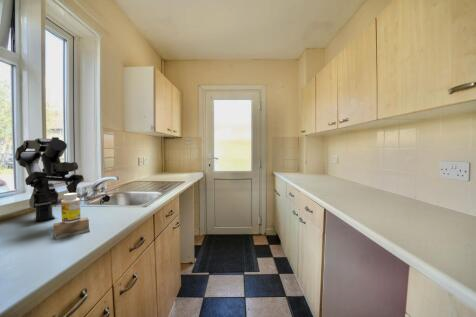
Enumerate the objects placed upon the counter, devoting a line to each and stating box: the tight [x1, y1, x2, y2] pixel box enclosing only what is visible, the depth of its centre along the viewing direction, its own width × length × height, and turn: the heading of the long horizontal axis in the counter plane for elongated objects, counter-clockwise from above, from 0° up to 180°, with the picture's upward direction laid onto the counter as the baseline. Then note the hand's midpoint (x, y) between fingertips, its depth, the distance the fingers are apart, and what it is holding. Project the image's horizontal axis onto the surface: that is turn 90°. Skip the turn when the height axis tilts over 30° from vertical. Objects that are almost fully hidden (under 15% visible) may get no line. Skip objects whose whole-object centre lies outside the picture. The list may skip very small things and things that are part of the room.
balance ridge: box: [53, 216, 91, 240], centre depth 83 cm, size 10×6×4 cm, turn 134°
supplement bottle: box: [60, 192, 81, 223], centre depth 83 cm, size 6×6×10 cm
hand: (62, 197), depth 89 cm, fingers open, 9 cm apart
